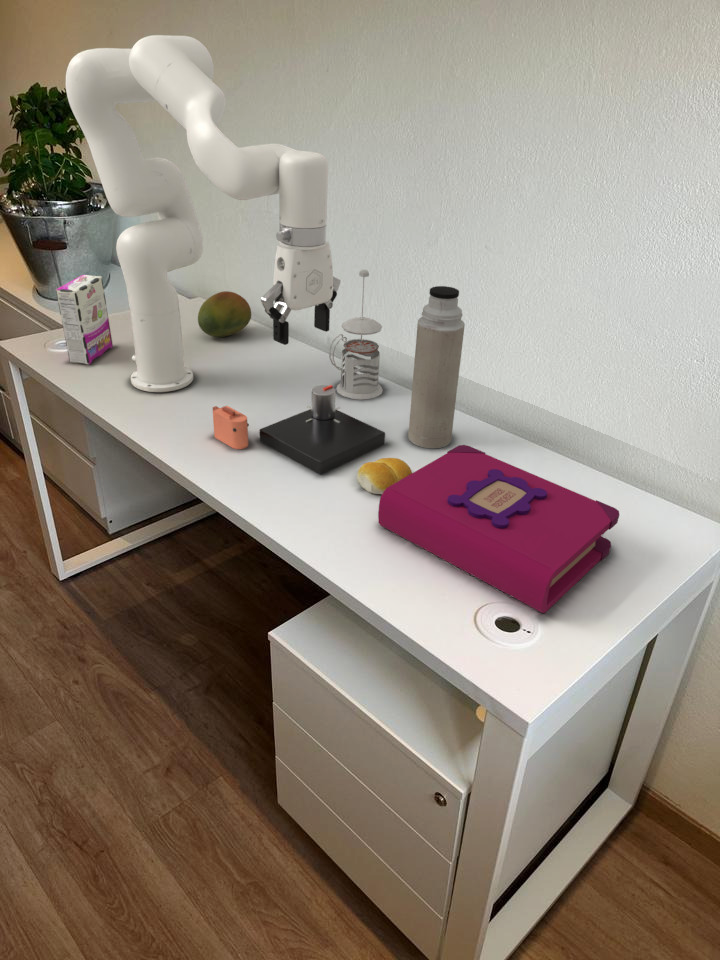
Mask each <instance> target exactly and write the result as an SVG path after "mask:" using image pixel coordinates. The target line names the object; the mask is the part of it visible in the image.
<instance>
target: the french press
mask: <svg viewBox="0 0 720 960" xmlns="http://www.w3.org/2000/svg"><path fill="white" fill-rule="evenodd" d="M358 275H359V276H358V277H361V278H362V300H361V301H362V303H361V316H358V317H352V318H350V319H348V320H346V321H345V322H343V323H342V324H341V328H342V330H343V331H344V332H345V333H348V334H352V335H357V336H358V335H359V336H360V338H356V339H355V338H353V339H349V340H348V339H347V337H346V336H344V335H343V334H342V333H341V334H338V335H337V336H335V337H334V338H333V340H332V341H331V344H330V345H329V349H328V357H329V361H330V363H331V365H332V366H334V367H335V368H336V369H337V370H338V371H340V382H339V383H338V384H337V385H336V388H335V390H336V392H337V394H339V395H340V396H342V397H343V398H348V399H352V400H361V401H362V400H371V399H374V398H377V397H379V396H381V395H382V394H383V390H384V389H383V388H382V386H381V385H380V383H379V375H380V355H381V353H380V350H379V347H380V345H379V344H378V343H377V342H375V341H374V340H369V339H363V336H368V335H370V336H371V335H374V334H378V333H380V332H381V331H382V328H383V325H382V324H381V323H380V322H378V321H377V320H376V319H374V318H370V317H365V316H364V297H365V296H364V295H365V278H366V277H367V278H368V277H369V276H370V273H369V270H368V269H361V270H360V271H359V272H358ZM340 336H341V338H340V339H338V341H337V342H336V340H337V338H339V337H340ZM341 341H342V342H343V349H342V351H341V366H338V365H337V364H336V362H335V350H336V349H337V346H338V345H339V343H340V342H341ZM334 342H336V343H335V345H334V347H333V344H334ZM332 347H333V350H332ZM331 350H332V351H331ZM331 352H332V353H331ZM347 353H348V354H347ZM349 353H353V354H349ZM331 354H332V355H331ZM354 354H355V355H354ZM356 354H358V355H361V356H362V357H361V356H357V355H356ZM363 356H364V357H369V358H370V359H369V358H368V359H367V358H363ZM357 366H358V367H357Z"/></svg>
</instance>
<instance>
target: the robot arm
mask: <svg viewBox="0 0 720 960" xmlns="http://www.w3.org/2000/svg"><path fill="white" fill-rule="evenodd" d="M213 61H214V60H213V58H212V56H211V54H210V52H209V50H208V48H206V46H205V44H204V43H202V42H201V41H199V40H198V39H197V38H194V37H192V36H189V35H188V36H187V35H169V34H168V35H164V34H153V35H147V36H145V37H142V38H140V39H139V40H137V41H136V42H135V43H134V45H133V46H132V47H131V48H118V47H97V48H90V49H86V50H82V51H80V52H77V54H75V55H74V56H73V57H72V58H71V59H70V62H69V63H68V66H67V68H66V73H65V92H66V97H67V101H68V104H69V107H70V109H71V111H72V113H73V116H74V117H75V120H76V122H77V123H78V125H79V127H80V129H81V131H82V133H83V136H84V138H85V140H86V142H87V144H88V147H89V150H90V153H91V157H92V160H93V163H94V165H95V168H96V171H97V173H98V177H99V180H100V182H101V185H102V189H103V191H104V194H105V197H106V200H107V203H108V204H109V206H110V209H111V210H112V211H113V212H114V213H115V215H117V216H120V217H122V218H134V217H135V218H136V217H141V216H147V215H150V214H156V216H157V218H158V219H157V220H150V221H146V222H142V223H136V224H134V225H131V226H129V227H127V228H126V229H124V230H123V231H122V232H121V233H120V234H119V236H118V238H117V240H116V245H115V248H116V255H117V259H118V263H119V266H120V268H121V271H122V275H123V278H124V282H125V287H126V293H127V294H126V295H127V299H128V306H129V315H130V323H131V328H132V329H131V330H132V338H133V344H134V345H133V346H134V352H135V353H134V354H132V356H131V360H132V361H133V362H135V363H136V364H135V365H136V370H135V371H133V373H132V374H131V375H130V383H131V385H132V387H134V388H136V389H138V390H140V391H144V392H149V393H168V392H174V391H178V390H181V389H183V388H186V387H188V386H189V385H190V384H192V382H193V380H194V372H193V371H192V370H191V369H190V368H189V367H187V366H185V355H184V354H185V353H184V345H183V332H182V322H181V311H180V302H179V296H178V295H179V294H178V293H177V290H176V288H175V286H174V285H173V283H172V282H171V280H170V278H169V277H168V273H170V272H172V271H175V270H179V269H182V268H185V267H188V266H191V265H194V264H196V263H197V262H198V261H199V260H200V259H201V258H202V255H203V252H204V237H203V233H202V230H201V227H200V223H199V219H198V217H197V213H196V209H195V206H194V203H193V200H192V196H191V192H190V190H189V189H190V188H189V185H188V183H187V182H186V179H185V177H184V175H183V172H182V171H181V170H180V168H179V167H178V166H177V165H176V164H175V163H174V162H173V161H172V160H169V159H167V158H164V157H151V158H150V157H149V158H145V157H144V155H143V154H142V151H141V148H140V145H139V142H138V139H137V135H136V134H135V132H134V130H133V128H132V126H131V125H130V123H129V122H128V121H127V120H126V119H125V117H124V116H123V115H122V114H121V113H120V112H119V111H117V109H116V105H124V104H125V105H128V104H143V103H155V102H157V103H158V105H160V106H161V107H162V108H163V109H164V110H165V111H166V112H167V113H168V114H169V115H170V116H171V117H172V118H173V119H174V120H175V121H176V122H177V123H178V124H179V125H181V127H183V129H184V130H185V131H186V141H187V145H188V148H189V152H190V155H191V156H192V159H193V161H194V163H195V165H196V166H197V168H198V169H199V171H201V173H202V174H203V175H204V176H205V177H207V179H208V180H209V181H210V182H212V184H213V185H215V186H216V187H217V188H218V189H219V190H220V191H221V192H222V193H224V194H225V195H227V196H229V197H230V198H232V199H235V200H238V201H248V200H252V199H256V198H262V197H266V196H273V195H274V196H275V195H279V201H278V202H279V206H278V207H279V209H278V210H279V211H278V212H279V232H276V233H275V237H276V240H277V241H278V242H279V244H277V246H276V251H275V258H274V264H273V265H274V266H273V279H272V280H273V281H272V283H273V284H272V285H273V286H272V287H271V288H270V289H269V290H268V291H266V292H265V294H263V295H262V296H261V298H260V302H261V304H262V307H263V309H264V312H265V313H266V314H267V315H268V316H269V318H270V319H272V323H273V324H272V329H273V330H272V335H273V338H272V339H273V341H274V342H277V343H279V344H282V345H284V346H286V345H289V343H290V341H289V340H290V338H289V337H290V335H289V333H290V331H289V329H290V328H289V327H290V324H289V323H290V322H289V321H287V319H288V317H289V315H290V313H291V311H301V310H305V309H308V308H312V307H314V317H313V318H314V320H313V323H314V324H313V326H314V328H315V329H318V330H321V331H323V332H325V333H326V332H329V331H330V319H331V317H330V315H331V309H332V308H333V307H334V303H333V302H334V301H335V299H336V298H337V295H338V290H339V287H340V285H341V279H339V278H337V277H335V276H334V270H333V257H332V251H331V250H332V249H331V246H330V243H329V241H327V213H328V181H329V179H328V177H329V164H328V160H327V158H326V157H325V155H323V154H322V153H320V152H317V151H316V152H315V151H309V150H297V149H294V148H292V147H290V146H288V145H285V144H282V143H265V144H253V145H248V146H242V147H239V146H237V145H236V144H234V143H233V142H232V140H230V139H229V137H227V136H226V135H225V134H224V133H223V132H222V131H221V130H220V129H219V128H218V125H219V124H220V122H221V120H222V119H223V116H224V114H225V111H226V107H227V99H226V95H225V94H224V92H223V90H222V89H221V88H220V87H219V86H218V85H217V84H215V82H214V81H213V79H214V75H215V74H214V73H215V70H214V69H215V67H214V62H213ZM281 310H282V311H281Z"/></svg>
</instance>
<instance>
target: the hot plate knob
mask: <svg viewBox="0 0 720 960" xmlns="http://www.w3.org/2000/svg"><path fill="white" fill-rule="evenodd" d="M336 392H337V390H336V388H334V386H333V385H332V384H330V385H327V384H326V385H324V384H322V385H316V386H314V387H312V388H311V408H312V416H313V417H314V418H316V419H319V420H328V419H332V418H333V417H334V416H335V409H336V400H337V399H336V397H337V396H336V395H337V393H336Z"/></svg>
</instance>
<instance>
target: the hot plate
mask: <svg viewBox="0 0 720 960" xmlns="http://www.w3.org/2000/svg"><path fill="white" fill-rule="evenodd" d="M306 408H307V410H303V411H302V412H300V413H297V414H295V415H292V416H290V417H286V418H284V419H282V420H280V421H277V422H275V423H272V424H269V425H266V426H264V427H261V428H259V430H258V431H259V442H260V443H261V444H264V445H265V446H267V447H269V448H271V449H273V450H275V451H276V452H277V453H280V454H283V455H284V456H285V457H287V458H290V459H291V460H293V461H294V462H296V463H298V464H301V466H304V467H305V468H307V469H309V470H311V471H313V472H315V473H317V474H318V475H320V476H322V475H324V474H326V473H328V472H330V471H332V470H334V469H336V468H339V467H341V466H343V465H344V464H347V463H348V462H351V461H353V460H355V459H357V458H359V457H361V456H363V455H366V454H368V453H370V452H371V451H374V450H376V449H378V448H380V447H382V446H385V443H386V432H385V431H383V430H380V429H379V428H377V427H374V426H373V425H370V424H368V423H367V422H364V421H362V420H359V419H358V418H355V417H354V416H351V415H349V414H347V413H346V412H343V411H341V410H340V409H341V407H335V416H334V417H333V418H332V419H328V420H319V419H316V418H314V417H313V416H312V406H307V407H306Z"/></svg>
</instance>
